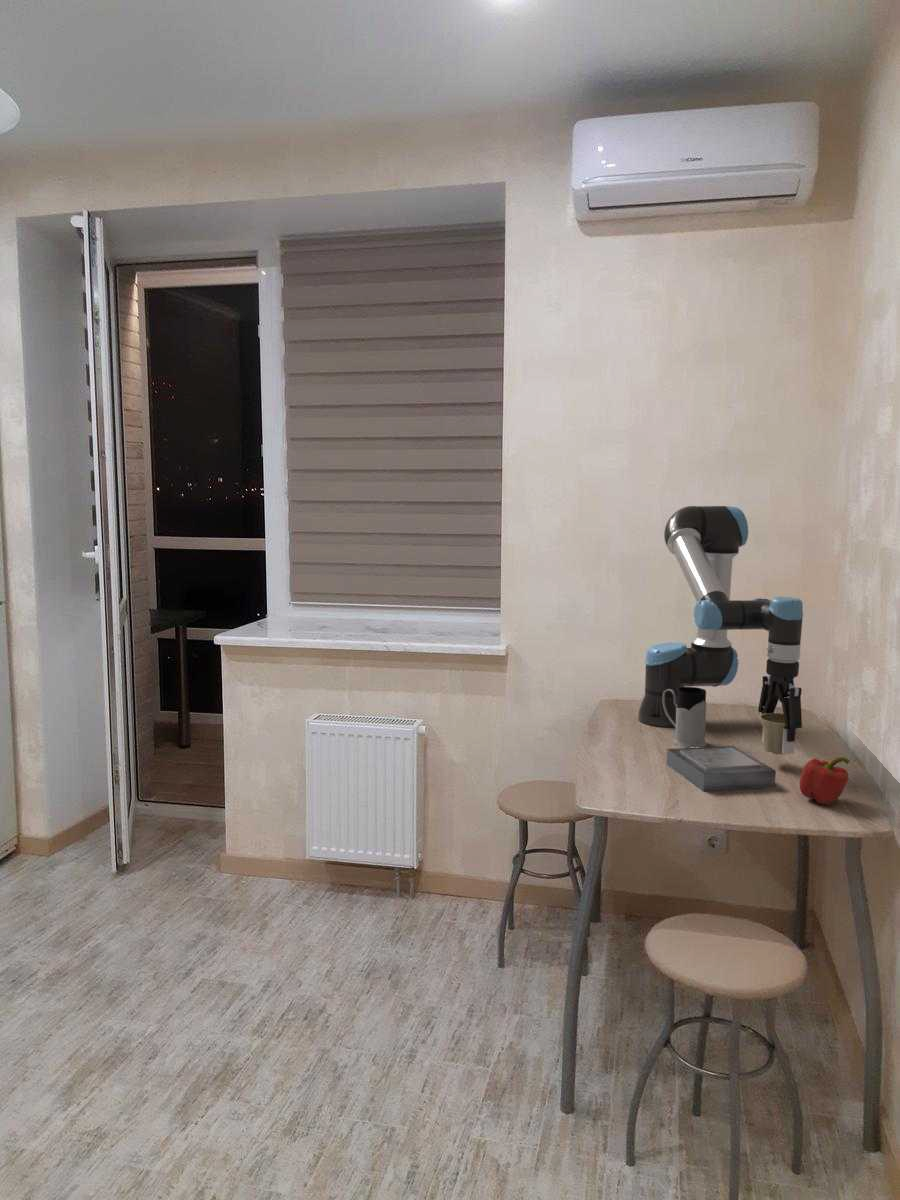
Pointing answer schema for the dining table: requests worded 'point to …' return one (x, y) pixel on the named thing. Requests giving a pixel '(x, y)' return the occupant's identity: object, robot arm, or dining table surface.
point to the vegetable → (823, 780)
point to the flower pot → (773, 731)
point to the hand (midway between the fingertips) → (777, 747)
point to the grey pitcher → (689, 716)
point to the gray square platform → (720, 768)
